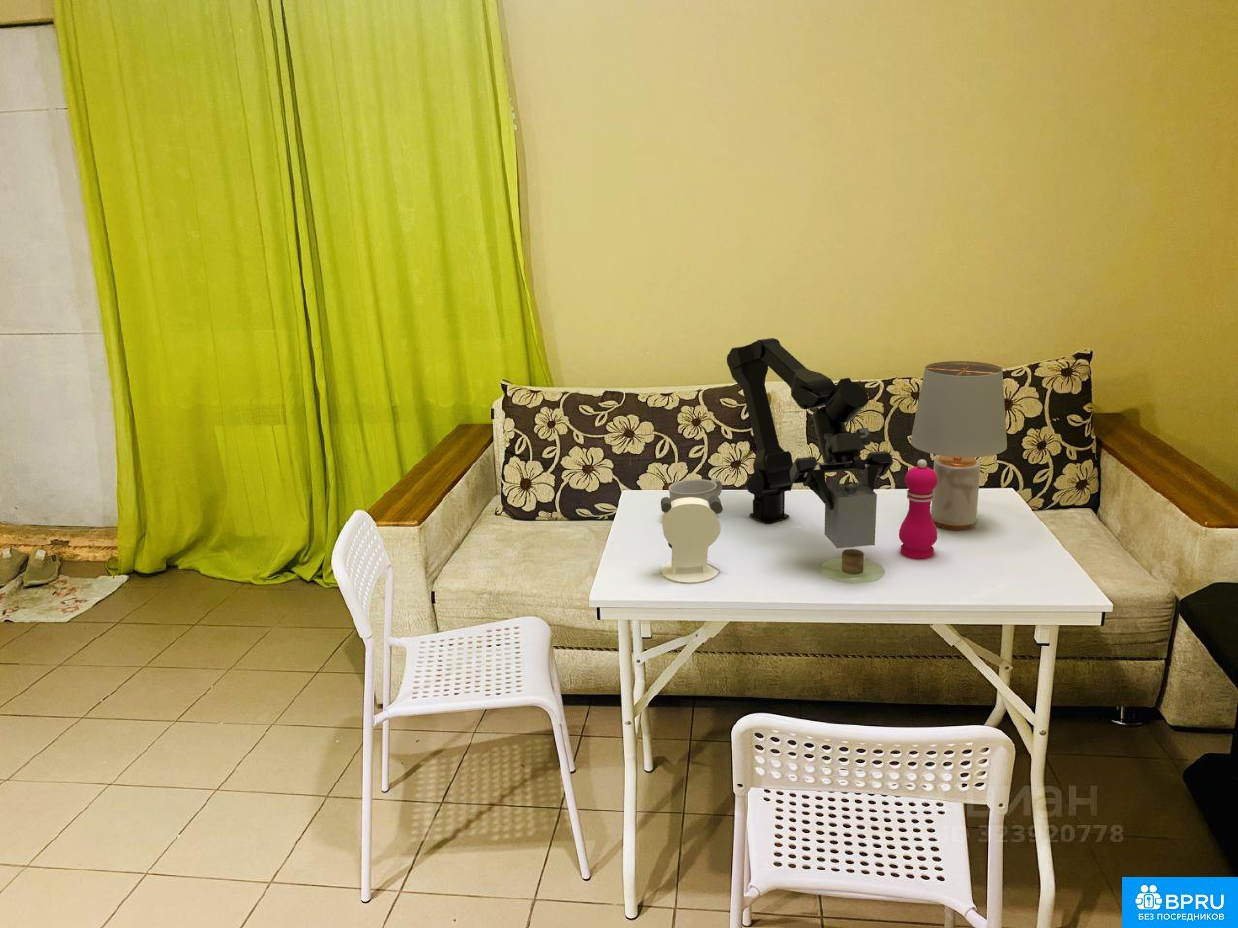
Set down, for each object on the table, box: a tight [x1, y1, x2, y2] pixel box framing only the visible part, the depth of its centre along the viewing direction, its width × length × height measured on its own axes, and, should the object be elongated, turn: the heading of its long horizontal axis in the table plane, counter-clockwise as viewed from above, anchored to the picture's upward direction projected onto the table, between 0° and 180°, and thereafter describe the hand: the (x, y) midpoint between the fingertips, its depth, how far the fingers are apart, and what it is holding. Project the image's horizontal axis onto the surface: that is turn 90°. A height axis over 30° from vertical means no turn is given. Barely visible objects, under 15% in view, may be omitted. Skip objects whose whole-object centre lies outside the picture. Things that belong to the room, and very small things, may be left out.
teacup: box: [668, 478, 723, 502], centre depth 209 cm, size 14×11×8 cm
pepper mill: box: [898, 459, 938, 560], centre depth 181 cm, size 7×7×20 cm
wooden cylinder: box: [841, 548, 865, 574], centre depth 177 cm, size 4×4×4 cm
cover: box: [824, 481, 878, 549], centre depth 174 cm, size 7×7×11 cm
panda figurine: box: [660, 495, 723, 585], centre depth 179 cm, size 12×11×15 cm
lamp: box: [910, 360, 1008, 531], centre depth 194 cm, size 19×19×34 cm
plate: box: [819, 557, 886, 585], centre depth 178 cm, size 12×12×1 cm
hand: (851, 507), depth 173 cm, fingers closed on cover, 7 cm apart
